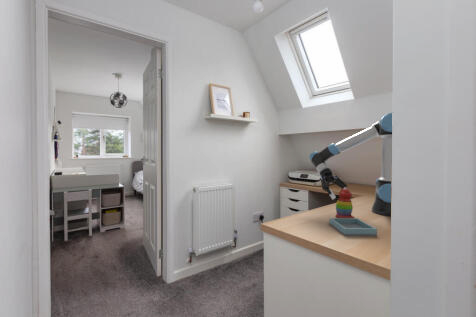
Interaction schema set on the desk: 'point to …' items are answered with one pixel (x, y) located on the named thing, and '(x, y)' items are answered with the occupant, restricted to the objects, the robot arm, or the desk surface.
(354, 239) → the desk surface
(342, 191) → the stacking bear
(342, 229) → the blue-grey square tray
